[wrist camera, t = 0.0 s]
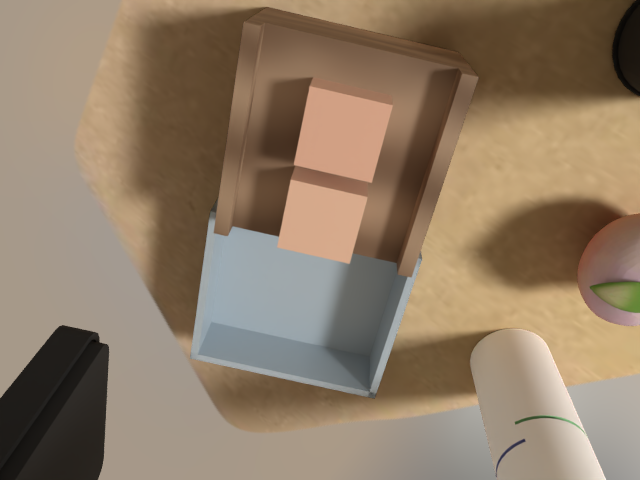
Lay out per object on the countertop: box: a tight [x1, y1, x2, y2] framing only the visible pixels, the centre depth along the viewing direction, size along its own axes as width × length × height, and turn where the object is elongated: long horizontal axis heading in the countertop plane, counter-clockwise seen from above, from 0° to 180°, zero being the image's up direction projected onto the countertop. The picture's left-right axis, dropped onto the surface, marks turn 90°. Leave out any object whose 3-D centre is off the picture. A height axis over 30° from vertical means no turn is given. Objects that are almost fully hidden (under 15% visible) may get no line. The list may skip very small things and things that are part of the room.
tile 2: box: [277, 166, 368, 264], centre depth 39 cm, size 5×5×2 cm
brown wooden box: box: [214, 7, 479, 278], centre depth 41 cm, size 14×14×9 cm
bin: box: [190, 197, 422, 399], centre depth 49 cm, size 14×16×6 cm
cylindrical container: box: [470, 328, 606, 480], centre depth 42 cm, size 7×7×25 cm
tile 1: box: [294, 77, 393, 183], centre depth 36 cm, size 5×5×2 cm
